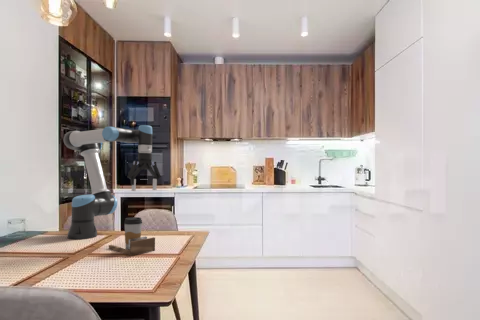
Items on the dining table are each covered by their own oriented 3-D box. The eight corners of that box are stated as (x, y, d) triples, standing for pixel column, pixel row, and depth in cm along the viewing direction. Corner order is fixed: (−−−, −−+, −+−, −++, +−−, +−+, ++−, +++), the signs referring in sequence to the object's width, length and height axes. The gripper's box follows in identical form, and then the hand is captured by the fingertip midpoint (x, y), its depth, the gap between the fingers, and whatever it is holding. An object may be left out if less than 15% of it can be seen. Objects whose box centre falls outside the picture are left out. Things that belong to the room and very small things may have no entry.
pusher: (128, 252, 148) (128, 239, 148) (145, 248, 155) (145, 236, 155) (132, 253, 146) (133, 240, 146) (150, 250, 153) (150, 237, 153)
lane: (108, 248, 156) (108, 235, 156) (131, 244, 166) (131, 232, 166) (131, 255, 144) (131, 242, 144) (154, 250, 153) (155, 237, 153)
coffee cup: (144, 248, 158) (145, 217, 158) (137, 252, 149) (138, 219, 150) (128, 247, 159) (128, 216, 159) (120, 251, 150) (121, 219, 151)
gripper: (128, 151, 169) (127, 191, 168) (167, 153, 188) (166, 189, 187) (121, 151, 174) (120, 191, 173) (159, 154, 193) (158, 189, 192)
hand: (144, 190), depth 180 cm, fingers open, 13 cm apart
